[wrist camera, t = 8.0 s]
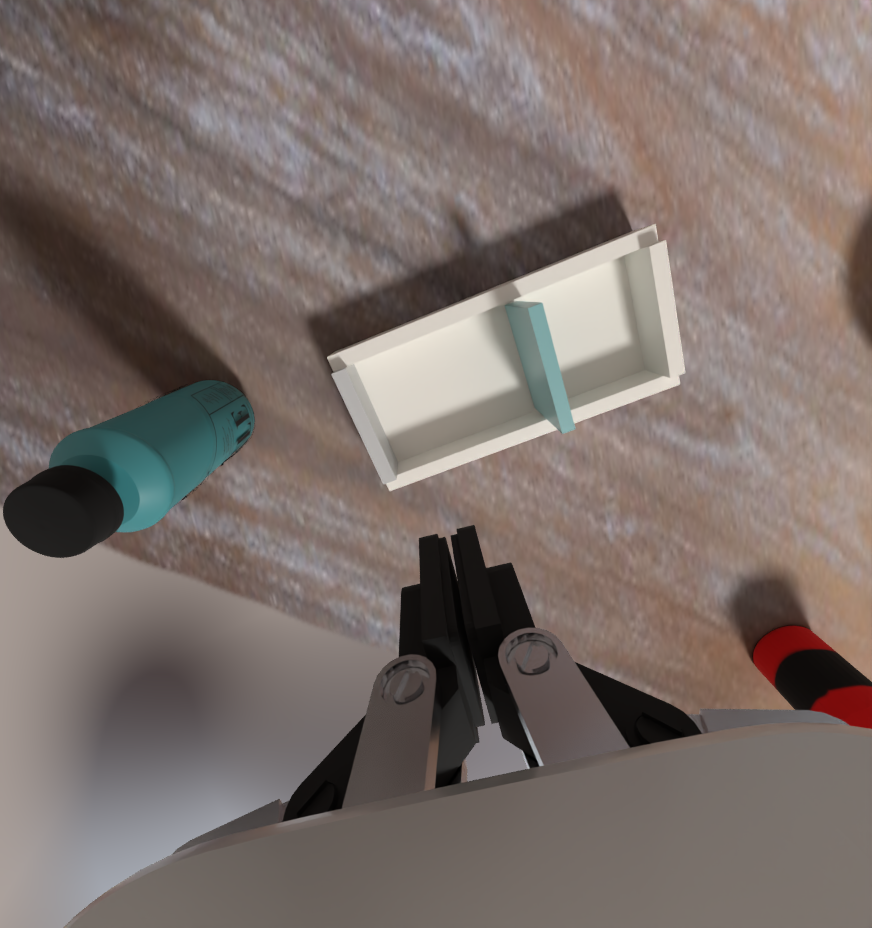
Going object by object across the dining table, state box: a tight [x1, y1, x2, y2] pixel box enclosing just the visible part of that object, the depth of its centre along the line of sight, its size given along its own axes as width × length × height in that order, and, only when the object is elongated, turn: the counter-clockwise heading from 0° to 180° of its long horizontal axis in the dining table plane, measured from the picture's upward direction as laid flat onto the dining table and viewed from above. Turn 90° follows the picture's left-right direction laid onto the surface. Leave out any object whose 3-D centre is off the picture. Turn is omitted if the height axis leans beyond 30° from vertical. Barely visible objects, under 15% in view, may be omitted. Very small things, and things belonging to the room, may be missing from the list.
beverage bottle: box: [3, 380, 255, 558], centre depth 28 cm, size 6×7×20 cm
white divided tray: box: [327, 224, 685, 491], centre depth 35 cm, size 12×26×4 cm, turn 111°
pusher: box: [505, 301, 575, 434], centre depth 33 cm, size 9×1×8 cm, turn 21°
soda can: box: [753, 626, 872, 729], centre depth 46 cm, size 8×8×12 cm
